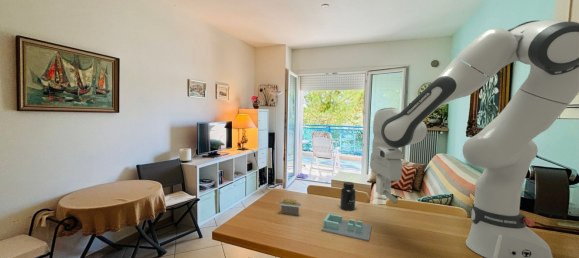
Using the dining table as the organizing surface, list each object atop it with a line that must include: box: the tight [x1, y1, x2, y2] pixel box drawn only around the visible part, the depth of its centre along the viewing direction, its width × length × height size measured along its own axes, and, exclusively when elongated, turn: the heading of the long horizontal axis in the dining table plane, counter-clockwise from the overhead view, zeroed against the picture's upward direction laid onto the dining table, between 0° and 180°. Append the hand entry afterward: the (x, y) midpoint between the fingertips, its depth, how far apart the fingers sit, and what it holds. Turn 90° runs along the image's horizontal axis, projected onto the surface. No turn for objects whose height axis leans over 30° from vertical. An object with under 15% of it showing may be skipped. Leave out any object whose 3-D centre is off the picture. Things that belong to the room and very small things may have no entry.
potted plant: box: [278, 198, 302, 216], centre depth 104 cm, size 12×18×7 cm, turn 75°
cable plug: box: [375, 176, 399, 204], centre depth 86 cm, size 12×4×6 cm, turn 1°
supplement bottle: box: [339, 181, 357, 211], centre depth 111 cm, size 7×7×12 cm
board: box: [321, 213, 372, 242], centre depth 91 cm, size 17×12×3 cm
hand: (383, 186), depth 90 cm, fingers closed on cable plug, 4 cm apart
